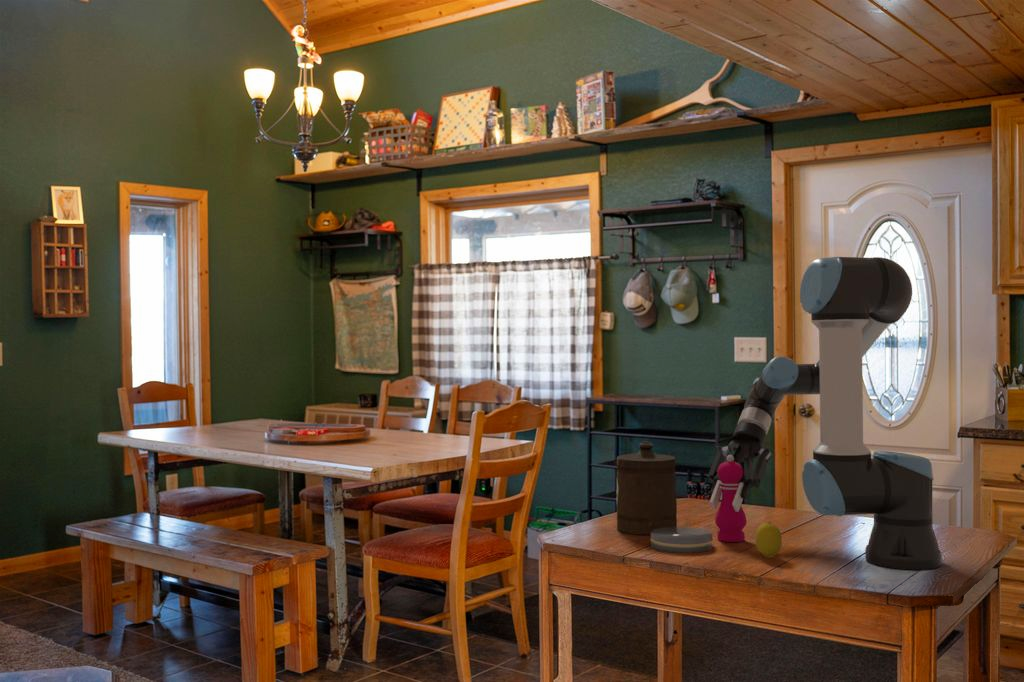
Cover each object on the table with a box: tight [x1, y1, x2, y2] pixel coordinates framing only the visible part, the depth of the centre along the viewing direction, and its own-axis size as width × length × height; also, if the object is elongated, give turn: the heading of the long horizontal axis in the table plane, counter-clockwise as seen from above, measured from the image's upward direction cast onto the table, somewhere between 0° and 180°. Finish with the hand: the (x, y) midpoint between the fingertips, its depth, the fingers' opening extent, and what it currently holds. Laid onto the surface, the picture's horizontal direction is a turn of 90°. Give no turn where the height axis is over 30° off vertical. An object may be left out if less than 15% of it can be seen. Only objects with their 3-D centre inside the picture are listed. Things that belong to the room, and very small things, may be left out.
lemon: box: [755, 521, 783, 559], centre depth 213 cm, size 6×6×8 cm
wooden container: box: [616, 440, 678, 536], centre depth 245 cm, size 15×15×22 cm
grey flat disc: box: [650, 526, 713, 554], centre depth 226 cm, size 14×14×3 cm
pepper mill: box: [714, 454, 747, 543], centre depth 232 cm, size 7×7×20 cm
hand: (723, 506), depth 229 cm, fingers closed on pepper mill, 5 cm apart
